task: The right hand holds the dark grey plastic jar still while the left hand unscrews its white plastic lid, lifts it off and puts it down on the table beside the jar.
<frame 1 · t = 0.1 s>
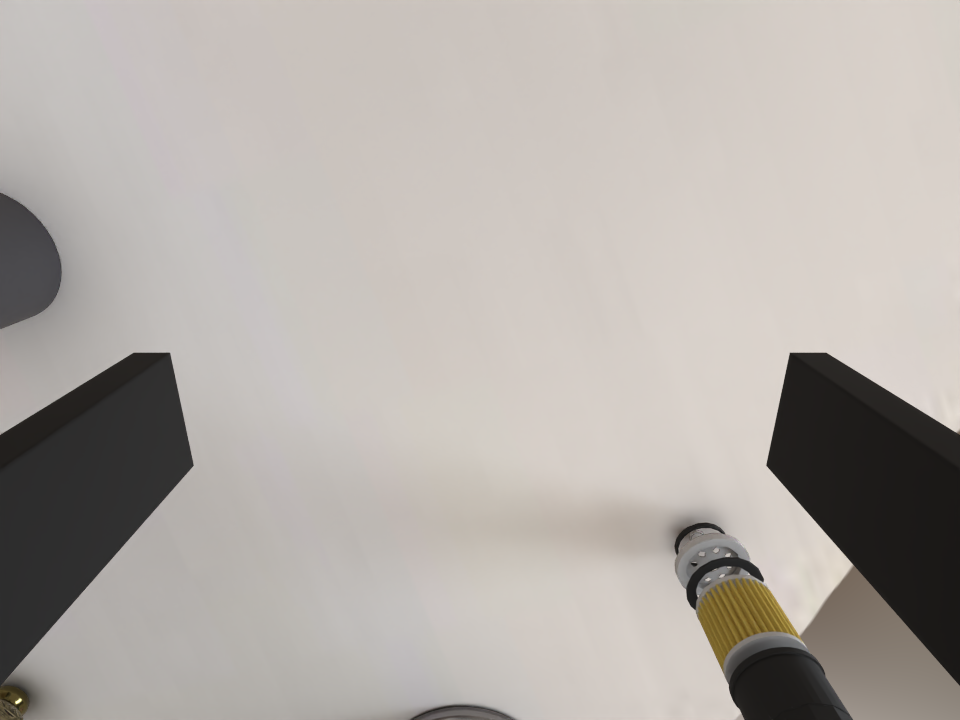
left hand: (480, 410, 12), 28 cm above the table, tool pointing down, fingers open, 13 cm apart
filter: (695, 534, 48), on the table
cup: (14, 694, 54), on the table
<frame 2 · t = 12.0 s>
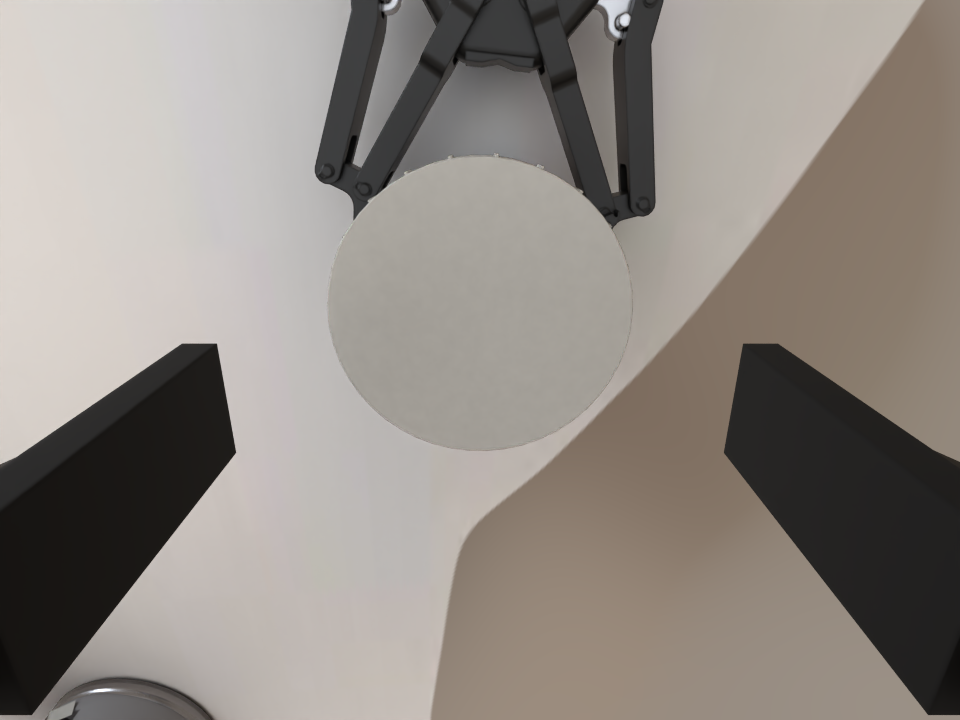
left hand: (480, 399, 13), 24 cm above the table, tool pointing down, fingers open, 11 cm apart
right hand: (471, 333, 31), fingers closed on jar, 9 cm apart
lid: (480, 314, 19), point 18 cm above the table, screwed on, not yet turned
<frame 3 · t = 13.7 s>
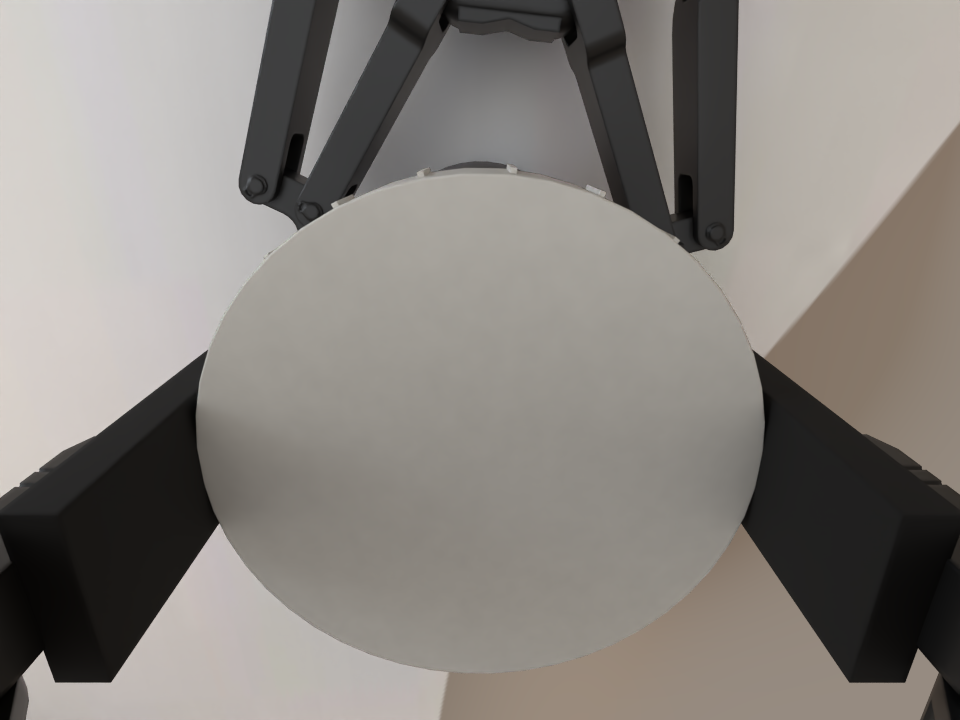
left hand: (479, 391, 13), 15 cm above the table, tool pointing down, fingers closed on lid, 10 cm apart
right hand: (468, 405, 23), fingers closed on jar, 9 cm apart
jar: (479, 263, 27), on the table, touching right hand
lid: (480, 458, 10), point 18 cm above the table, screwed on, not yet turned, touching left hand
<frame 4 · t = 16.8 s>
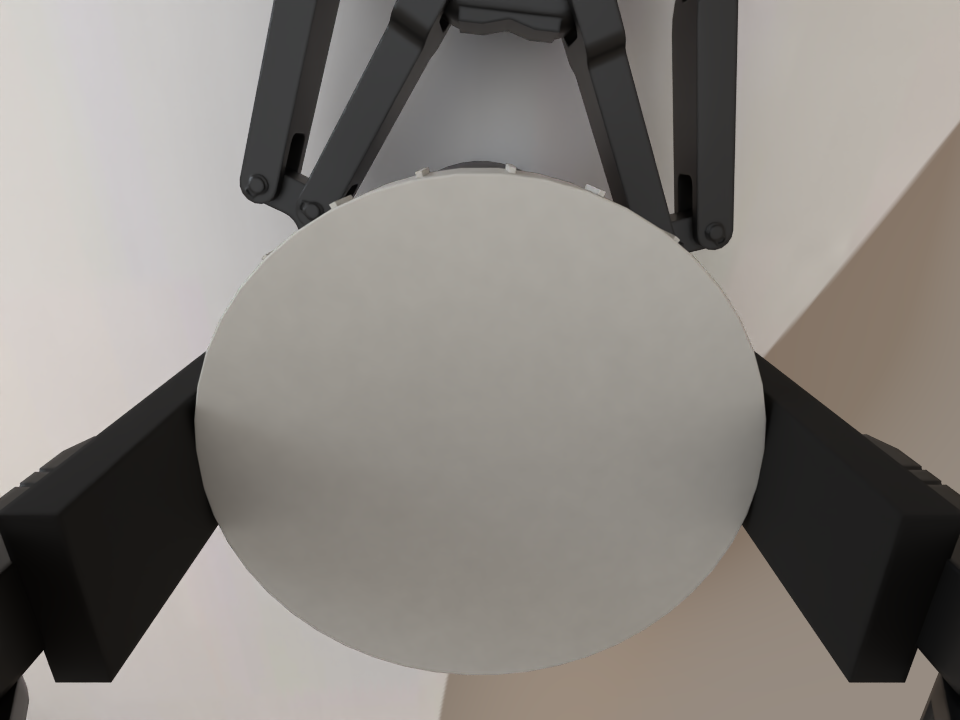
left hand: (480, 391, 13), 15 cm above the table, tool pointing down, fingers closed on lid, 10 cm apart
right hand: (469, 404, 23), fingers closed on jar, 9 cm apart
jar: (480, 262, 27), on the table, touching right hand
lid: (480, 459, 10), point 18 cm above the table, turned 98° so far, risen 0.1 cm, still on its thread, touching left hand
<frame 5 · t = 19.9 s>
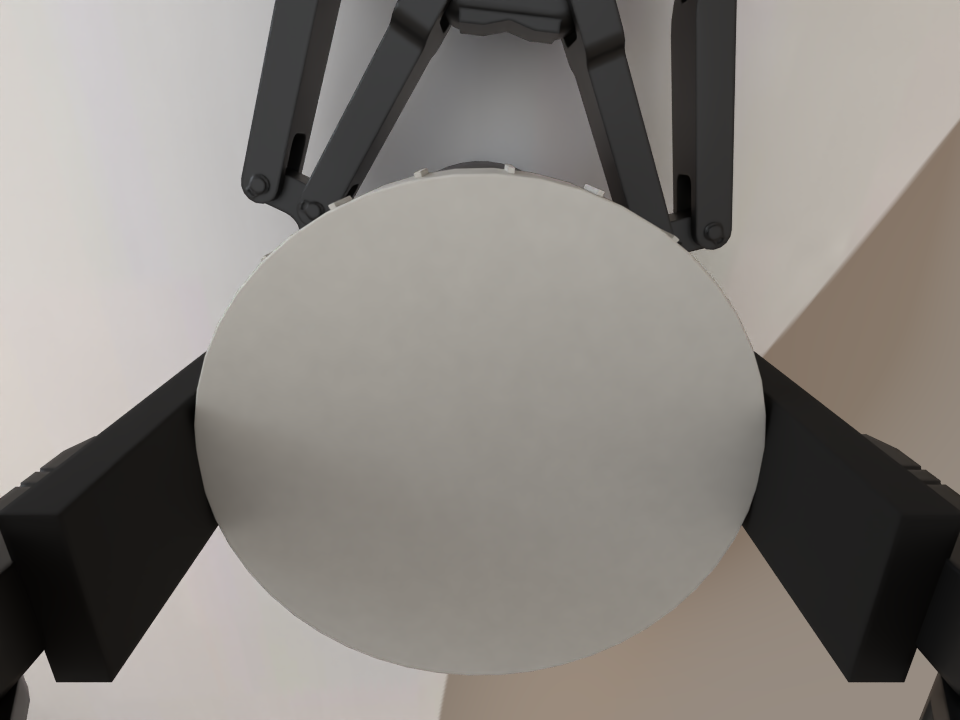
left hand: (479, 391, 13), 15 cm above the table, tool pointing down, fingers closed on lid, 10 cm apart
right hand: (468, 403, 23), fingers closed on jar, 9 cm apart
jar: (480, 262, 27), on the table, touching right hand
lid: (480, 459, 10), point 18 cm above the table, turned 197° so far, risen 0.2 cm, still on its thread, touching left hand
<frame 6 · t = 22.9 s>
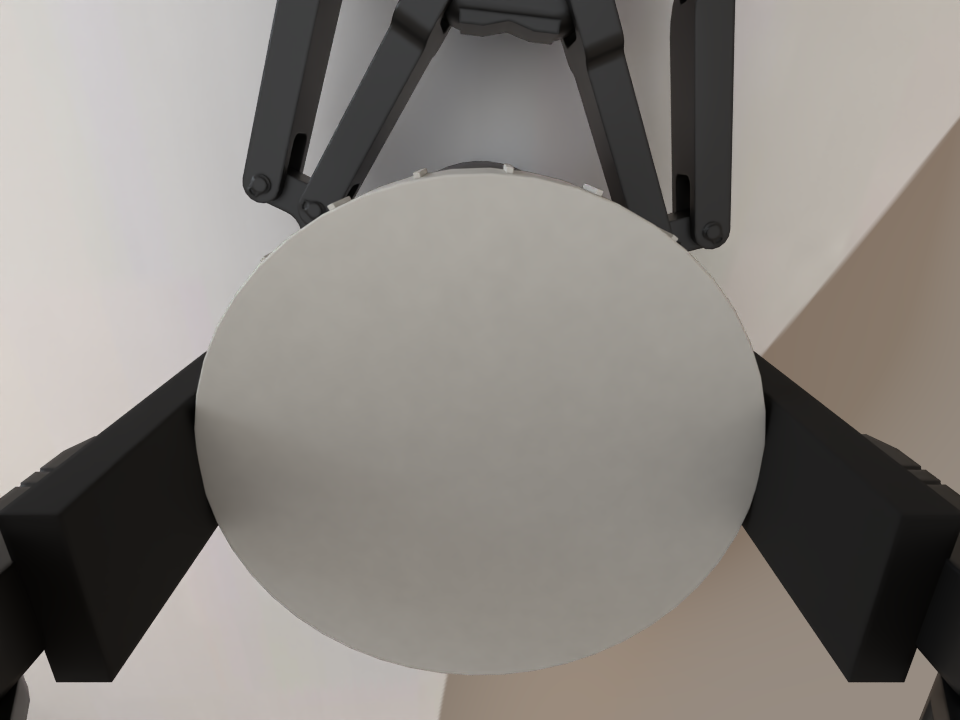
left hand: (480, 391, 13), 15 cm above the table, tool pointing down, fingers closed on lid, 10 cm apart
right hand: (468, 402, 23), fingers closed on jar, 9 cm apart
jar: (480, 262, 27), on the table, touching right hand
lid: (480, 459, 10), point 18 cm above the table, turned 295° so far, risen 0.3 cm, still on its thread, touching left hand
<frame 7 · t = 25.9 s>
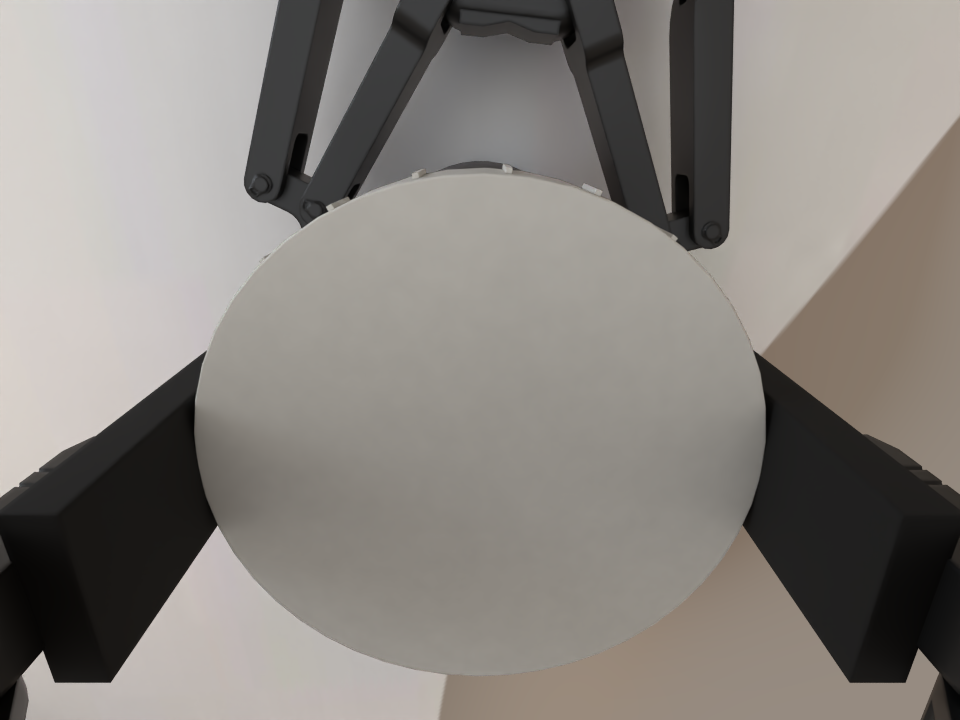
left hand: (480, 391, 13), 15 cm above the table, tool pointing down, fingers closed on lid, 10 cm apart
right hand: (469, 401, 23), fingers closed on jar, 9 cm apart
jar: (480, 261, 27), on the table, touching right hand
lid: (480, 459, 10), point 18 cm above the table, turned 394° so far, risen 0.5 cm, still on its thread, touching left hand
when the left hand's fingers open (0 cm above the table, at t = 34.0 s): lid drops 2 cm, point 1 cm above the table.
when the right hand's fingers open (6 cm above the table, at t = 35.0 s): jar stays where it is, on the table.
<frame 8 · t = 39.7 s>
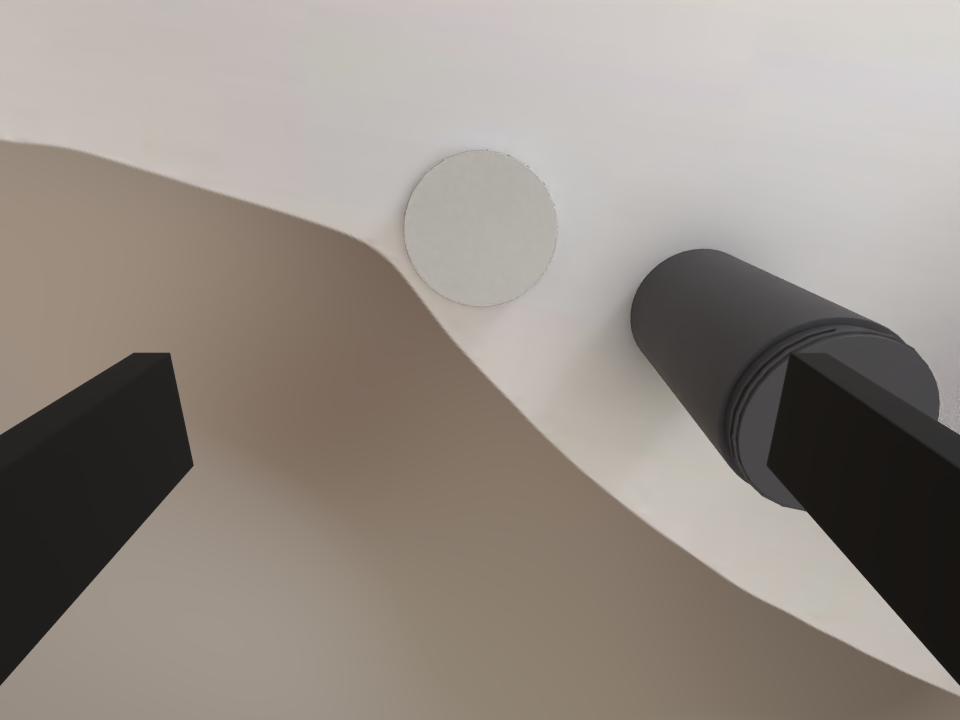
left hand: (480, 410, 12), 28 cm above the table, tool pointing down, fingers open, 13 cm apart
jar: (694, 312, 41), on the table
lid: (480, 231, 37), point 1 cm above the table, off its thread
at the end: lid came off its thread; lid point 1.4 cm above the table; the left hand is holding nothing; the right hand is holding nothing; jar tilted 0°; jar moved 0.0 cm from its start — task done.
